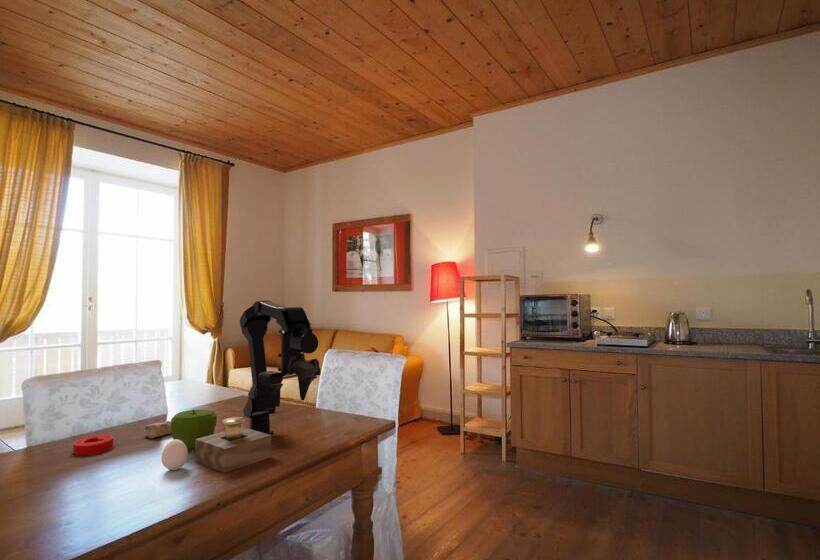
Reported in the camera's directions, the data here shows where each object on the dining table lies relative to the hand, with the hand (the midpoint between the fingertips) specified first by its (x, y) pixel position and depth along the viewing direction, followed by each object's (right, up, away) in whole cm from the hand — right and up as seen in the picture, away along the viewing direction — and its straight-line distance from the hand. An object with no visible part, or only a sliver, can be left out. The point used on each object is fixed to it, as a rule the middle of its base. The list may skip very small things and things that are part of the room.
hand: (290, 403), depth 132 cm
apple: (-29, -14, +2) cm, 32 cm away
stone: (-45, -15, +15) cm, 50 cm away
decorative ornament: (-58, -14, +1) cm, 60 cm away
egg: (-26, -13, -16) cm, 33 cm away
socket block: (-13, -13, -9) cm, 20 cm away
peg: (-13, -9, -9) cm, 18 cm away
